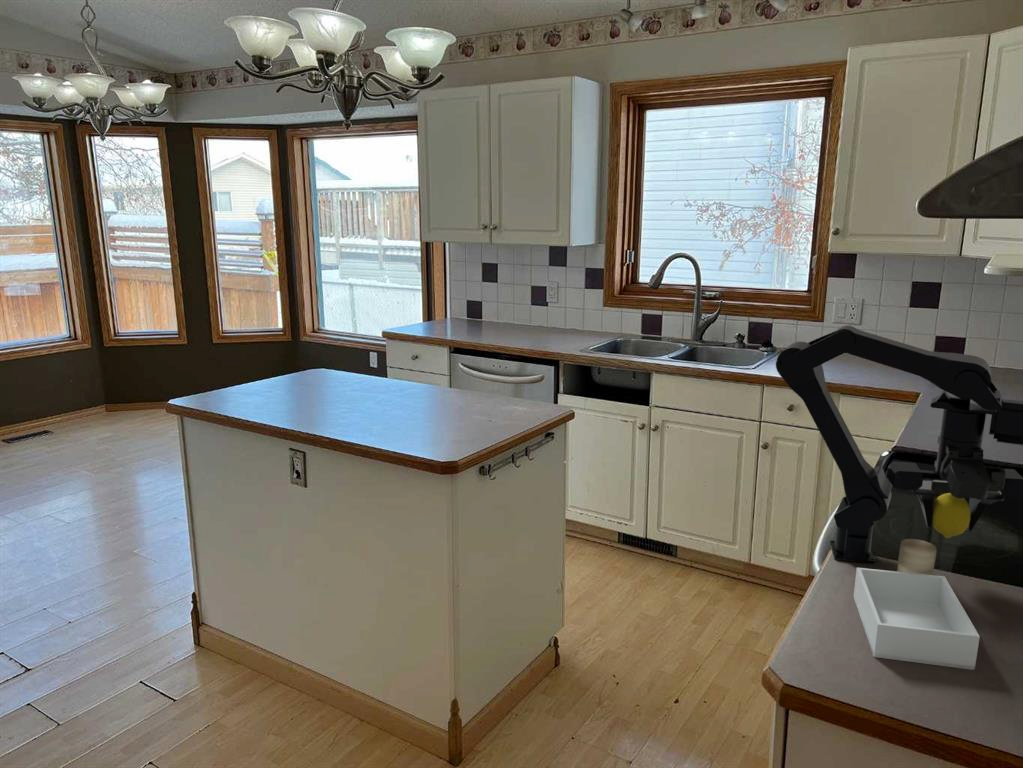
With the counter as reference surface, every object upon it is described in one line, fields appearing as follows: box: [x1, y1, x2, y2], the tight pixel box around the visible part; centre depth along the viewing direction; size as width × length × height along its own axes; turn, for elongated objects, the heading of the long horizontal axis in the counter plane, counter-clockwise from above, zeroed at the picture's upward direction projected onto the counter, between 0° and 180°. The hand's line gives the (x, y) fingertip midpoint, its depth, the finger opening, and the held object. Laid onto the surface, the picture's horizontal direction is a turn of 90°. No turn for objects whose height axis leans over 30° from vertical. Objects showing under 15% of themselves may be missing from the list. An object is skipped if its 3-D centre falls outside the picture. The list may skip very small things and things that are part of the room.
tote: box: [853, 567, 980, 671], centre depth 107 cm, size 16×12×5 cm
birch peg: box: [896, 538, 937, 575], centre depth 118 cm, size 5×5×7 cm
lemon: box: [931, 492, 970, 539], centre depth 120 cm, size 6×6×8 cm
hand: (948, 528), depth 121 cm, fingers closed on lemon, 5 cm apart
